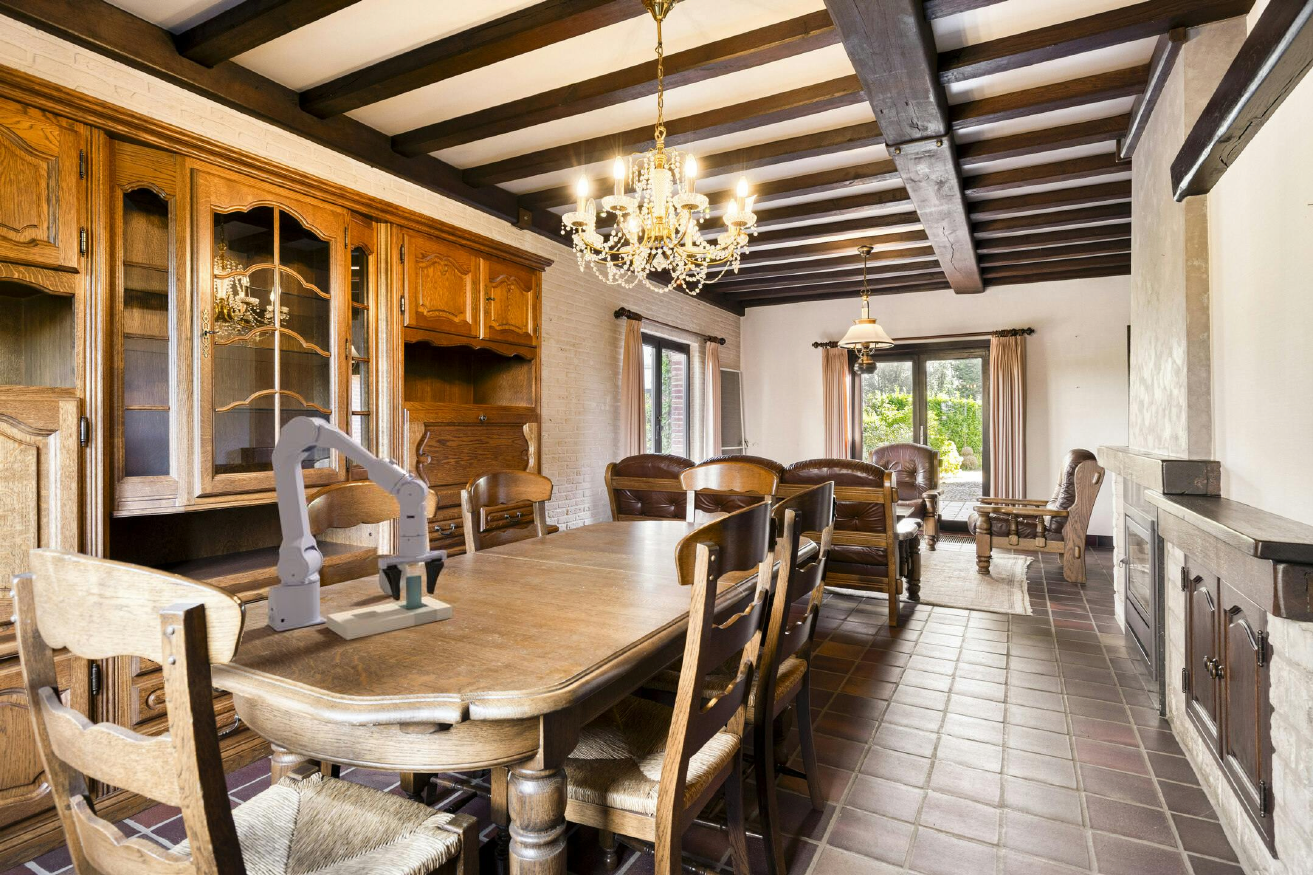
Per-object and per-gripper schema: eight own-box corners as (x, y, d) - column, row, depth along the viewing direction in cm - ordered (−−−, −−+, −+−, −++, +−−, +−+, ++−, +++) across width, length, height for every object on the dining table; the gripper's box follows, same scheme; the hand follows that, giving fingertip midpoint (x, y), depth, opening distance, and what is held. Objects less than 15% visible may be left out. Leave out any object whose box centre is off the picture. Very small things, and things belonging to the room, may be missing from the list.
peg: (409, 620, 141) (409, 578, 141) (403, 617, 144) (403, 576, 143) (424, 617, 143) (423, 576, 143) (417, 614, 146) (417, 574, 146)
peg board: (347, 639, 128) (347, 627, 128) (327, 626, 137) (326, 614, 137) (452, 617, 143) (452, 606, 143) (428, 606, 152) (427, 596, 152)
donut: (388, 600, 158) (388, 559, 158) (375, 599, 159) (375, 558, 159) (411, 590, 168) (411, 551, 168) (399, 589, 169) (398, 551, 169)
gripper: (387, 540, 135) (387, 606, 136) (452, 533, 146) (453, 593, 146) (374, 536, 141) (374, 599, 141) (438, 529, 151) (438, 588, 151)
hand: (413, 596), depth 144 cm, fingers open, 7 cm apart
